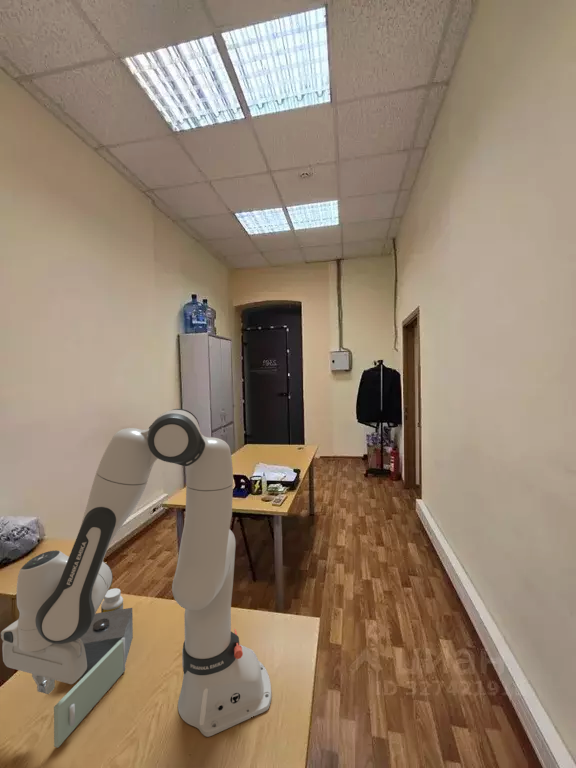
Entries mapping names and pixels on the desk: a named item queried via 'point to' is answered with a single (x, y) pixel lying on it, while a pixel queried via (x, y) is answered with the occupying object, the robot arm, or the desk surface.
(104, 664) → the side door
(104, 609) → the pill bottle
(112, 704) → the desk surface
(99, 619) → the cabinet box
